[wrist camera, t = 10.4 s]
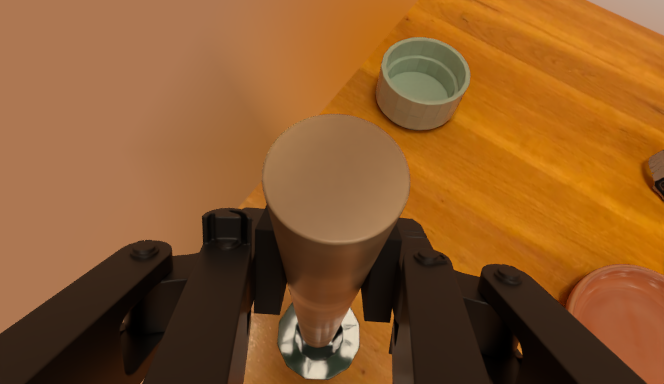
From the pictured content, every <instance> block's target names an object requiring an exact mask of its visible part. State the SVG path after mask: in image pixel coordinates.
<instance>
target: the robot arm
mask: <svg viewBox="0 0 664 384" xmlns="http://www.w3.org/2000/svg"><path fill="white" fill-rule="evenodd" d="M202 225H203V246H202V248H201V250H200V252H199V253H196V254H189V255H178V256H172V248H171V246H170V245H169V244H168V243H165V242H162V241H152V240H145V241H144V240H143V241H138V242H136V243H133V244H129V245H127V246H125V247H123V248H121V249H120V250H118V251H117V252H115V253H114V254H113V255H111V256H110V257H108V258H107V259H106V260H104V261H103V262H101V263H100V264H99V265H97V266H96V267H94V268H93V269H92V270H90V271H89V272H87V273H86V274H84V275H83V276H81V277H80V278H79V279H77V280H76V281H74V282H73V283H72V284H70V285H69V286H67V287H66V288H64V289H63V290H62V291H60V292H59V293H57V294H56V295H55V296H53V297H52V298H50V299H49V300H47V301H46V302H45V303H43V304H42V305H40V306H39V307H38V308H36V309H35V310H33V311H32V312H30V313H29V314H28V315H26V316H25V317H23V318H22V319H21V320H19V321H18V322H16V323H15V324H14V325H12V326H11V327H9V328H8V329H6V330H5V331H4V332H2V333H1V334H0V384H140V383H141V382H142V381H143V379H144V378H145V379H144V381H143V383H142V384H243V382H244V374H245V367H246V359H247V351H248V343H249V335H250V327H251V307H252V304H253V301H254V313H259V314H273V315H280V311H281V307H282V302H283V298H284V293H285V289H286V284H287V279H286V275H285V271H284V267H283V264H282V260H281V256H280V252H279V248H278V245H277V241H276V237H275V233H274V229H273V226H272V222H271V218H270V214H269V210H268V207H267V205H266V208H265V209H259V208H244V209H242V210H241V209H235V208H221V209H216V210H212V211H209V212H207V213H205V214H204V215H203V216H202ZM361 293H362V302H363V312H364V321H373V322H387V323H390V318H391V312H392V309H393V313H394V321H393V328H392V334H391V341H390V347H389V354H392V375H393V384H647V383H646V382H645V381H644V380H643V379H642V378H641V377H640V376H639V375H637V374H636V373H635V372H634V371H633V370H632V369H631V368H630V367H629V366H628V365H627V364H625V363H624V362H623V361H622V360H621V359H620V358H619V357H618V356H617V355H616V354H615V353H613V352H612V351H611V350H610V349H609V348H608V347H607V346H606V345H605V344H604V343H602V342H601V341H600V340H599V339H598V338H597V337H596V336H595V335H594V334H593V333H592V332H590V331H589V330H588V329H587V328H586V327H585V326H584V325H583V324H582V323H581V322H580V321H578V320H577V319H576V318H575V317H574V316H573V315H572V314H571V313H570V312H569V311H568V310H566V309H565V308H564V307H563V306H562V305H561V304H560V303H559V302H558V301H557V300H556V299H554V298H553V297H552V296H551V295H550V294H549V293H548V292H547V291H546V290H545V289H543V288H542V287H541V286H540V285H539V284H538V283H537V282H536V281H535V280H534V279H533V278H531V277H530V276H529V275H527V274H526V273H525V272H523V271H520V270H518V269H516V268H515V267H513V266H509V265H505V264H502V265H500V264H490V265H486V266H484V267H483V268H482V271H481V275H480V277H477V276H473V275H469V274H465V273H461V272H458V271H455V270H454V269H453V266H452V262H451V261H450V259H449V258H448V257H447V256H446V255H444V254H443V253H441V252H438V251H436V250H433V248H432V246H431V244H430V242H429V240H428V238H427V236H426V234H425V233H424V230H423V228H422V226H421V225H420V224H419V223H417V222H416V221H414V220H413V219H407V218H399V219H398V220H397V222H396V224H395V226H394V228H393V230H392V231H391V233H390V235H389V237H388V239H387V240H386V242H385V244H384V246H383V248H382V250H381V251H380V253H379V255H378V257H377V259H376V261H375V262H374V264H373V266H372V268H371V270H370V272H369V273H368V275H367V277H366V279H365V281H364V283H363V284H362V286H361ZM123 320H124V322H123ZM122 322H123V323H122ZM518 343H520V345H521V348H522V354H521V353H520V352H519V350H518V349H517V346H518Z"/></svg>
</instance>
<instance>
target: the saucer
mask: <svg viewBox="0 0 664 384" xmlns="http://www.w3.org/2000/svg"><path fill="white" fill-rule="evenodd" d="M565 309H566V310H568V311H569V312H570V313H571V314H572V315H573V316H574V317H575V318H576V319H577V320H578V321H580V322H581V323H582V324H583V325H584V326H585V327H586V328H587V329H588V330H589V331H590V332H592V333H593V334H594V335H595V336H596V337H597V338H598V339H599V340H600V341H601V342H602V343H604V344H605V345H606V346H607V347H608V348H609V349H610V350H611V351H612V352H613V353H615V354H616V355H617V356H618V357H619V358H620V359H621V360H622V361H623V362H624V363H625V364H627V365H628V366H629V367H630V368H631V369H632V370H633V371H634V372H635V373H636V374H637V375H639V376H640V377H641V378H642V379H643V380H644V381H645V382H646V383H647V384H664V275H662V274H659V273H657V272H655V271H653V270H650V269H647V268H644V267H640V266H635V265H628V264H616V265H609V266H605V267H602V268H599V269H597V270H595V271H593V272H591V273H590V274H588V275H586V276H585V277H584V278H583V279H581V280H580V281H579V282H578V283H577V284H576V286H575V287H574V288H573V290H572V291H571V293H570V295H569V298H568V300H567V304H566V308H565Z"/></svg>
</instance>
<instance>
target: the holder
mask: <svg viewBox="0 0 664 384" xmlns="http://www.w3.org/2000/svg"><path fill="white" fill-rule="evenodd" d="M277 344H278V347H279V350H280V352H281V354H282V356H283V358H284V361H285V363H286V365H287V366H288V367H289V368H290V369H292V370H293V371H295V372H296V373H298V374H299V375H300V376H302V377H303V378H305V379H315V380H328V379H331V378H333V377H334V376H336V375H338V374H339V373H341V372H343V371H344V370H346V369H348V368H349V366H350V364H351V362H352V360H353V359H354V357H355V355H356V353H357V351H358V349H359V347H360V330H359V322H358V321H357V319H356V317H355V315H354V313H353V311H352V309H351V308H349V310H348V312H347V314H346V316H345V317H344V319H343V321H342V323H341V325H340V327H339V328H338V330H337V332H336V334H335V336H334V338H333V339H332V341H331V342H330V343H329V344H328V345H326V346H324V347H320V348H316V347H312V346H310V345H308V344H307V343H306V342H305V341H304V340H303V338H302V336H301V332H300V328H299V324H298V321H297V317H296V313H295V309H294V305H293V302H292V303H291V304H290V306H289V307H288V309H287V310H286V312H285V313H284V315H283V317H282V318H281V320H280V322H279V330H278V342H277Z"/></svg>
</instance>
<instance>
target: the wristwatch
mask: <svg viewBox="0 0 664 384" xmlns="http://www.w3.org/2000/svg"><path fill="white" fill-rule="evenodd" d="M649 167H650V169H651V172H652V173H653V172H654V174H652V176H653V179H654V186H653V190H655V191H656V192H658V194H659V195H660V196H661V197H662V199H663V200H664V150H662V151H660V152H658V153H657V154H655V155H653V156H651V157H650V159H649Z"/></svg>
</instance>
